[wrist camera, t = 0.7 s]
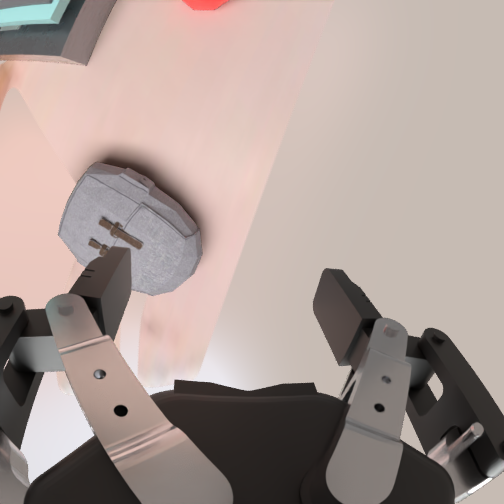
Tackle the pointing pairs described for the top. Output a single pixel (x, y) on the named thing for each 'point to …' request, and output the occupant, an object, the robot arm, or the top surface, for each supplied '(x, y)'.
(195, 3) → the apple
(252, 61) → the top surface
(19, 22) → the bar
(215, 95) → the top surface
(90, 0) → the box
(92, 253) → the small grey backpack
